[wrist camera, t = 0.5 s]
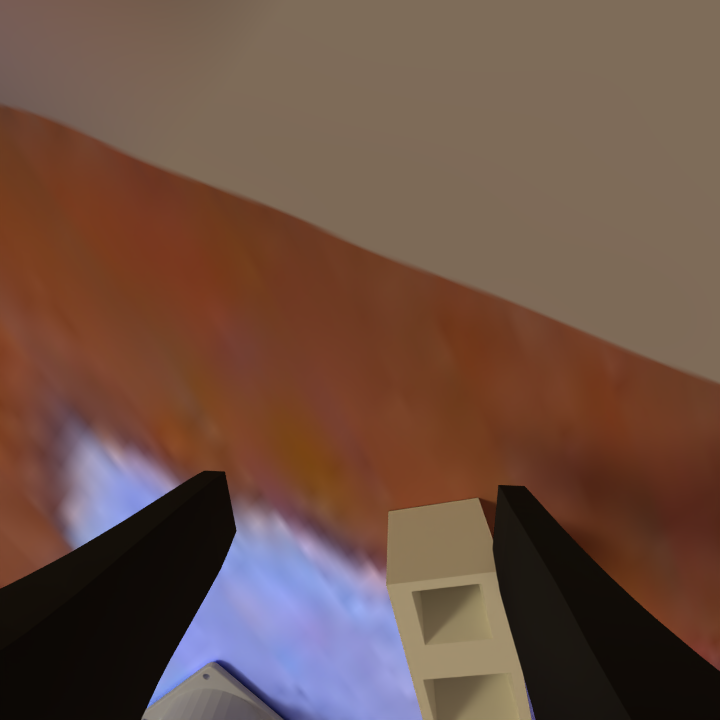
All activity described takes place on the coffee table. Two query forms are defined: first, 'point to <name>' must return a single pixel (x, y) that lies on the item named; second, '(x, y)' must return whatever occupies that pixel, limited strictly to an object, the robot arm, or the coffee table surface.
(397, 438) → the coffee table surface
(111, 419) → the coffee table surface
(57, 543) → the coffee table surface
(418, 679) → the block with holes
